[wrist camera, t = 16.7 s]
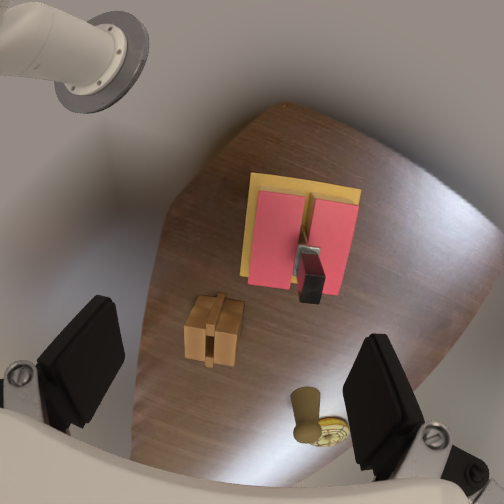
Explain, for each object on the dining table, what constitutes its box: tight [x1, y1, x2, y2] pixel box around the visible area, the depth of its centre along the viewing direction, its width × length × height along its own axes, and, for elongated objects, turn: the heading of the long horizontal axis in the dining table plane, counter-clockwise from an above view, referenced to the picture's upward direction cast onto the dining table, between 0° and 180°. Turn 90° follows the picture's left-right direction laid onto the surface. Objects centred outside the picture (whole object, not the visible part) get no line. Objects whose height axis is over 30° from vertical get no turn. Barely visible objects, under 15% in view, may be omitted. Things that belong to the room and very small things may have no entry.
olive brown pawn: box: [291, 387, 322, 444], centre depth 45 cm, size 6×6×11 cm
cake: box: [240, 172, 361, 295], centre depth 36 cm, size 15×15×5 cm
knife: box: [292, 225, 326, 304], centre depth 31 cm, size 2×4×16 cm, turn 173°
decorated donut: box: [309, 418, 349, 447], centre depth 53 cm, size 10×11×4 cm
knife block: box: [184, 292, 244, 368], centre depth 41 cm, size 7×8×8 cm
